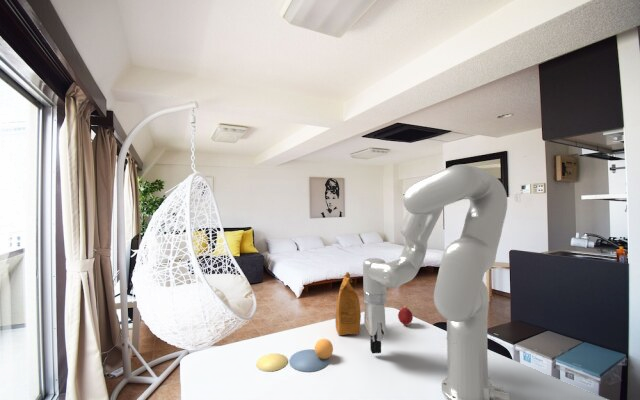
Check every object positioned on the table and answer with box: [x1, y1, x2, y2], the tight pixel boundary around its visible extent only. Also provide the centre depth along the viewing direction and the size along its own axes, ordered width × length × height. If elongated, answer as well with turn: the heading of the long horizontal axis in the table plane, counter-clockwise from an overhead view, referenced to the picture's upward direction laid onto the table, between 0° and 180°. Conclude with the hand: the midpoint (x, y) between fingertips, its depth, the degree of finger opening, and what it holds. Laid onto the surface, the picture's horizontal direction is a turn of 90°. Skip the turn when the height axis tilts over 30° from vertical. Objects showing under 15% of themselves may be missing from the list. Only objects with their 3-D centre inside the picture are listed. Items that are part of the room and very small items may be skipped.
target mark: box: [288, 348, 330, 373], centre depth 94 cm, size 13×13×1 cm
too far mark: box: [256, 353, 289, 372], centre depth 93 cm, size 10×10×1 cm
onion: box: [397, 305, 414, 326], centre depth 119 cm, size 6×6×8 cm
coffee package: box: [335, 271, 361, 336], centre depth 116 cm, size 10×12×22 cm
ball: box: [314, 338, 334, 359], centre depth 95 cm, size 6×6×6 cm
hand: (375, 351), depth 96 cm, fingers closed
